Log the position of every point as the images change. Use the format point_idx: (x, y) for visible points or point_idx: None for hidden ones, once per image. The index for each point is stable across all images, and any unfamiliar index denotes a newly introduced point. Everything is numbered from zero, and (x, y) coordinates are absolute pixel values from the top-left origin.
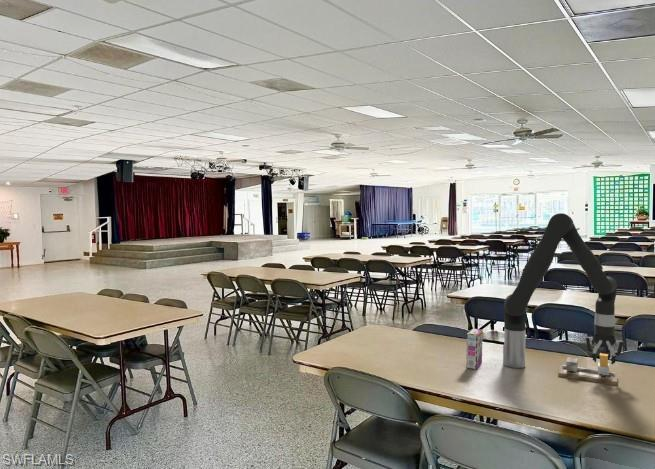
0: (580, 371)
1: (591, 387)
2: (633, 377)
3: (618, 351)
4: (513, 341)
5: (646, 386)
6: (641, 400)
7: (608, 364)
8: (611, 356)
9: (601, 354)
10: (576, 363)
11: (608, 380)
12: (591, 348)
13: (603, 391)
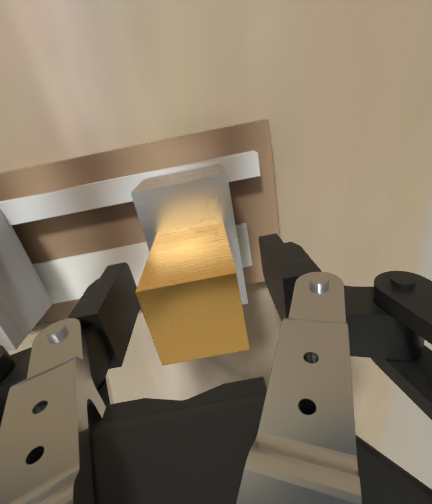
0: (49, 228)
1: (181, 362)
2: (371, 9)
3: (413, 386)
4: None
5: (425, 177)
6: (371, 372)
7: (228, 217)
8: (277, 278)
9: (170, 332)
10: (17, 345)
11: None
12: (8, 391)
13: (234, 373)
